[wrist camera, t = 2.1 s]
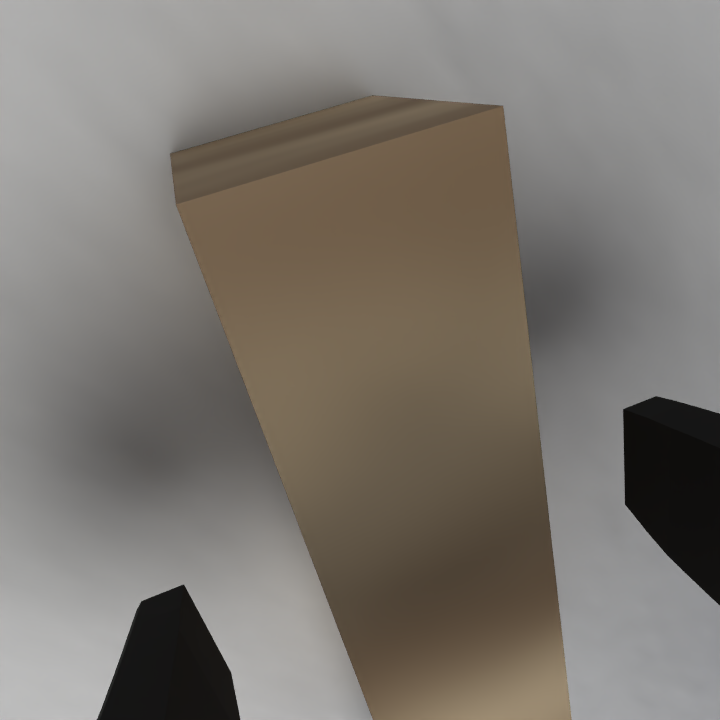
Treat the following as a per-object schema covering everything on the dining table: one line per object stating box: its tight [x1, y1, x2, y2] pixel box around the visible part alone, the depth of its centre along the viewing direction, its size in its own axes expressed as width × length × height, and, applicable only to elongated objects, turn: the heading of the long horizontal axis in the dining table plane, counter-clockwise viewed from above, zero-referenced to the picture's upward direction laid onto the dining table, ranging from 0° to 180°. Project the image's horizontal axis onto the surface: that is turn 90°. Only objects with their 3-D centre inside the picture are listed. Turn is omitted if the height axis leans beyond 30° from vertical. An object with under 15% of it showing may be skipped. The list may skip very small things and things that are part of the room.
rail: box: [170, 95, 571, 720], centre depth 12 cm, size 16×4×4 cm, turn 13°
